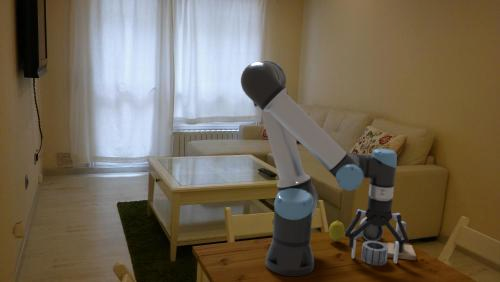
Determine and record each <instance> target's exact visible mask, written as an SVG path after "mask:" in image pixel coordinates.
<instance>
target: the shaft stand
mask: <svg viewBox="0 0 500 282" xmlns="http://www.w3.org/2000/svg"><path fill="white" fill-rule="evenodd" d="M401 222H402V225H403V227H404V230H405V232H406V233H407V228H408V223H407V222H406V221H404V220H401ZM395 227H396V228H395V231H396V232H397V233H398V235H399V236H400V237H401V238H403V235H402V233H401V230H400V228H399V225H398V223H397V222H396V226H395ZM396 241H397V239H396V238H395V237H394V243H393V242H383V241H382V242H381V243H384V244H385V245H387V246H388V255H387V258H392V259H394V251H395V242H396ZM398 259H402V260H403V259H404V260H411V261H417V255H416V252H415V250H414V247H413V245H411V244H406V243H404V244H403V245H402V252H401V253H398Z"/></svg>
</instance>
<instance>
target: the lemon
mask: <svg viewBox="0 0 500 282" xmlns="http://www.w3.org/2000/svg"><path fill="white" fill-rule="evenodd" d="M345 231H346V229H345V225H344V223H342V222H341V221H339V220H336V221H333V222H332V223H331V224H330V225H329V230H328V234H329V237H330V239H331V240H333V241H334V242H335V243H337V242H338V241H341V240H342V239H344V237H345Z"/></svg>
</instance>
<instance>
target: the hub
mask: <svg viewBox="0 0 500 282" xmlns="http://www.w3.org/2000/svg"><path fill="white" fill-rule="evenodd" d="M361 246H362V247H361V257H360V258H361V261H362V262H364V263H366V264H368V265H371V266H376V267H377V266H385V265H386V264H387V263H388V257H387V255H388V246H387V245H385V244H384V243H382V242H380V241H367V240H365V241H364V242H362V245H361Z"/></svg>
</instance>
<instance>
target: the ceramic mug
mask: <svg viewBox="0 0 500 282" xmlns="http://www.w3.org/2000/svg"><path fill="white" fill-rule="evenodd" d="M365 219H367V217H366V216H365V217H362V219H360V221H359V225H361V224H362V223H363V222H364V221H365ZM355 229H356V228H354V229H353V230H352V231H351V233H352V232H353V231H354V230H355ZM383 235H384V226H378V225H377V226H373V225H372V224H370V225H369V226H368V227H366V228H365V229H364V230H363V231H362V232H361V233H360V234H358V235H357V236H356V239H359V238H364V239H365V241H377V242H379V240H381V238H383Z"/></svg>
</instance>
